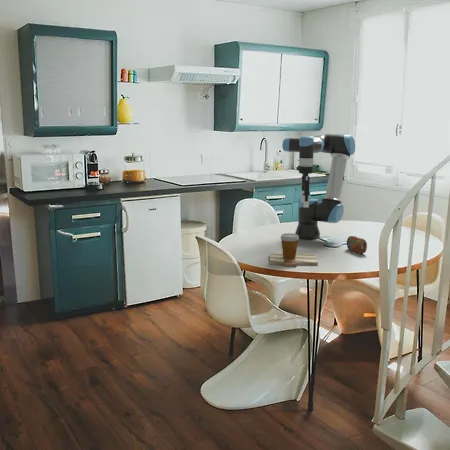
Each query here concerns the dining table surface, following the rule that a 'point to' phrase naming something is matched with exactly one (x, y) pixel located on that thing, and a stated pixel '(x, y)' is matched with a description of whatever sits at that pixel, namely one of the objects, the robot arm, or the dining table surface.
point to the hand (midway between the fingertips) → (305, 204)
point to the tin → (356, 244)
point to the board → (293, 260)
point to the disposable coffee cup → (289, 245)
